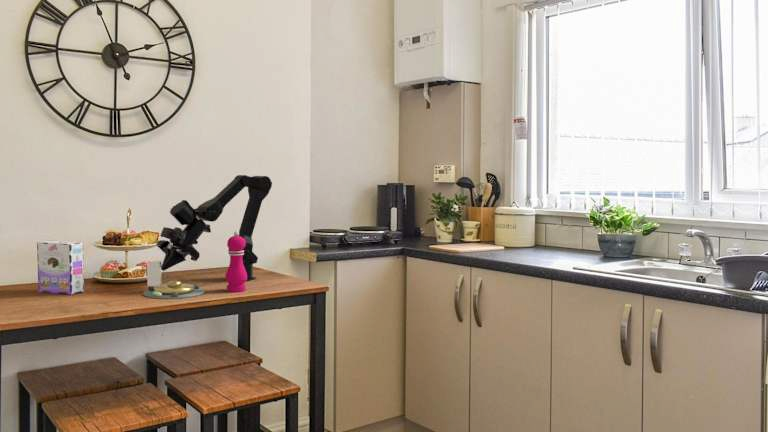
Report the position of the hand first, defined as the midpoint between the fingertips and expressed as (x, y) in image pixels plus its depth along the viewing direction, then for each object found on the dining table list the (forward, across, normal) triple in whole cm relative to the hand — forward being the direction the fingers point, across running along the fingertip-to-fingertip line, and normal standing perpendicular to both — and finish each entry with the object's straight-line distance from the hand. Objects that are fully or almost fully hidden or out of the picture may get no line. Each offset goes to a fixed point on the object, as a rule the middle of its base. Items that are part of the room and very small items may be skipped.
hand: (162, 269), depth 221 cm
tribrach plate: (+5, +6, +5) cm, 10 cm away
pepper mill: (-7, +16, +18) cm, 25 cm away
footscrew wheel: (+4, +6, +4) cm, 8 cm away
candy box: (+22, -20, -13) cm, 32 cm away
